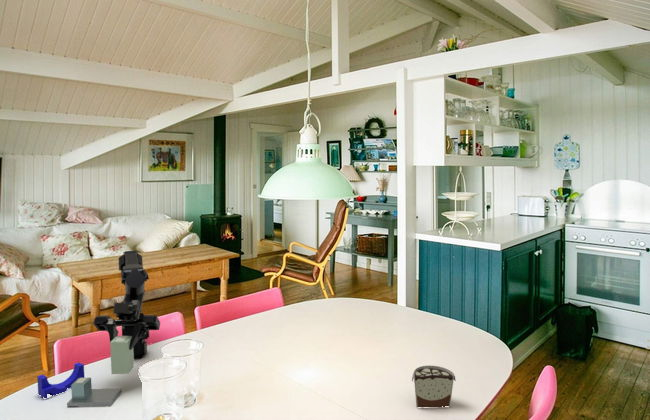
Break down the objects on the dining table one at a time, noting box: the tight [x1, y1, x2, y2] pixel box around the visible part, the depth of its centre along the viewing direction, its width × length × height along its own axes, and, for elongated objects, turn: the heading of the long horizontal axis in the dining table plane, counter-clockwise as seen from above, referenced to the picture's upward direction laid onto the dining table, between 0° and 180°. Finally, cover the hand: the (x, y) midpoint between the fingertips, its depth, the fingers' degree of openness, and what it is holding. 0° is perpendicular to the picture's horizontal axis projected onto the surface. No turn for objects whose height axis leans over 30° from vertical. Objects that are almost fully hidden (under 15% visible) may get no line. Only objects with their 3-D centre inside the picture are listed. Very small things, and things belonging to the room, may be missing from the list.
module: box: [109, 335, 135, 375], centre depth 134 cm, size 5×4×10 cm
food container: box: [411, 365, 457, 408], centre depth 127 cm, size 12×6×10 cm, turn 92°
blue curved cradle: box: [37, 362, 85, 398], centre depth 135 cm, size 12×4×6 cm, turn 143°
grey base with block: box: [66, 377, 123, 407], centre depth 129 cm, size 12×8×6 cm, turn 93°
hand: (120, 349), depth 133 cm, fingers closed on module, 5 cm apart
